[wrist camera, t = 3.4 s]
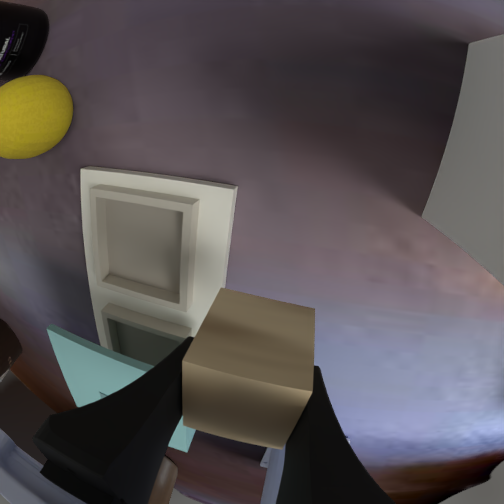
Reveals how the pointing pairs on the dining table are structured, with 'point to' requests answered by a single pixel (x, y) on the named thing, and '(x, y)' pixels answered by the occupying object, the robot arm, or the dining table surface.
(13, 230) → the dining table surface
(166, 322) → the board
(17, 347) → the coffee mug
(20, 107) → the lemon
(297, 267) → the dining table surface
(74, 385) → the cover
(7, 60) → the supplement bottle
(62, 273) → the dining table surface
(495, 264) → the milk
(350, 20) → the dining table surface
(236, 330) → the block
